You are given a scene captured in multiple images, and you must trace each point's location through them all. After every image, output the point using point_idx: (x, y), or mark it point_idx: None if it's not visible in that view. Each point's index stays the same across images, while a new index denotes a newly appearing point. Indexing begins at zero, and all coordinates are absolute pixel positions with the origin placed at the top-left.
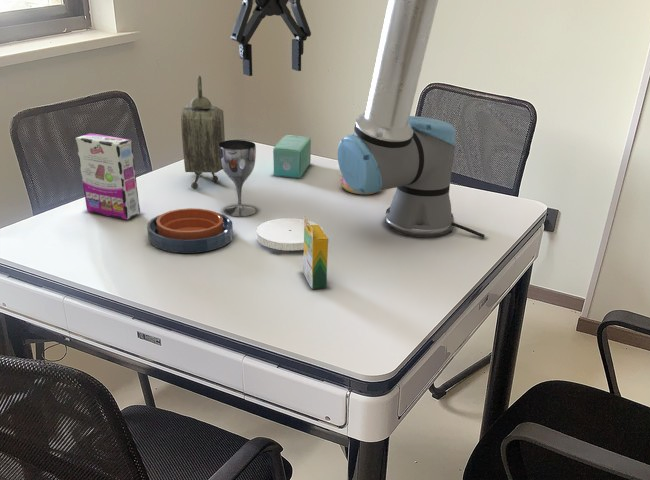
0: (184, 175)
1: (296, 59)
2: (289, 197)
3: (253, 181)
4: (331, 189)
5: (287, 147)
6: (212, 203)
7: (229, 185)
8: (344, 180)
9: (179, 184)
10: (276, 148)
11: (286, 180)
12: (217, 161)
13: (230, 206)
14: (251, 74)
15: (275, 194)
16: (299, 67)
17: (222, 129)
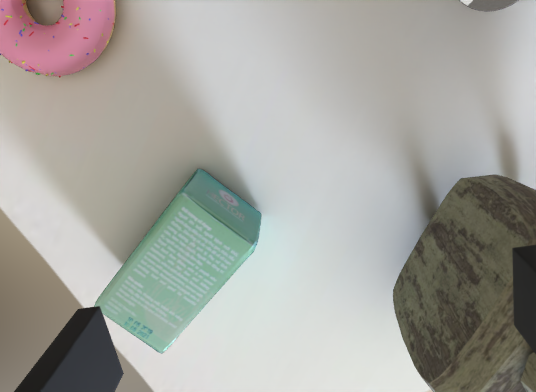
0: None
1: (74, 379)
2: (299, 21)
3: (334, 192)
4: (148, 42)
5: (209, 236)
6: (531, 59)
7: (411, 186)
8: (106, 2)
9: None
10: (246, 242)
11: (243, 167)
12: (495, 177)
13: (501, 8)
14: (524, 251)
15: (326, 64)
16: (81, 320)
17: (473, 272)
